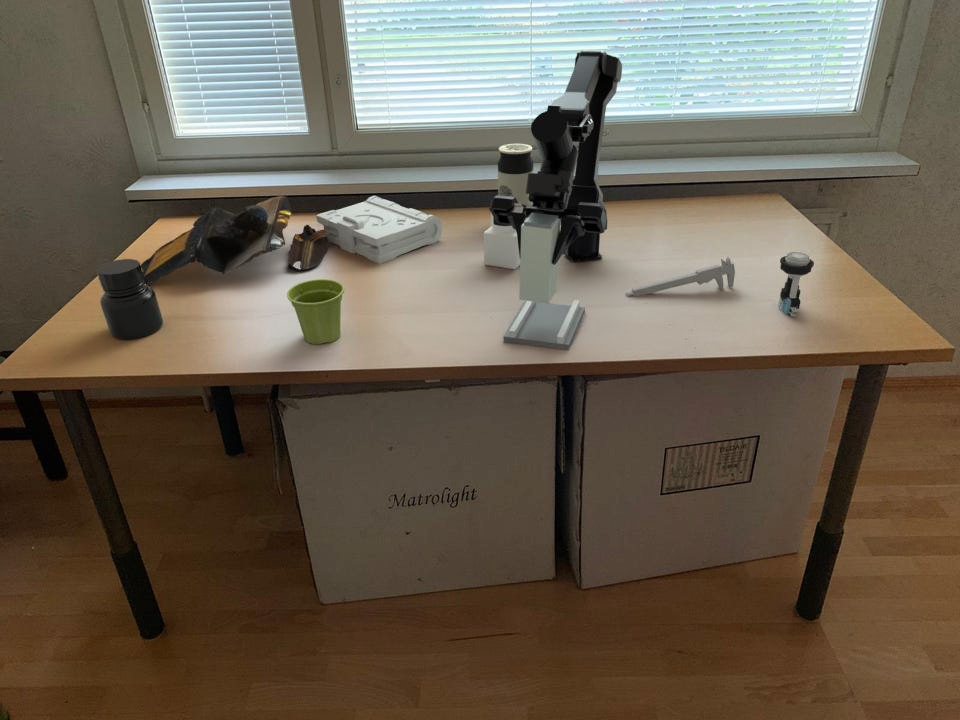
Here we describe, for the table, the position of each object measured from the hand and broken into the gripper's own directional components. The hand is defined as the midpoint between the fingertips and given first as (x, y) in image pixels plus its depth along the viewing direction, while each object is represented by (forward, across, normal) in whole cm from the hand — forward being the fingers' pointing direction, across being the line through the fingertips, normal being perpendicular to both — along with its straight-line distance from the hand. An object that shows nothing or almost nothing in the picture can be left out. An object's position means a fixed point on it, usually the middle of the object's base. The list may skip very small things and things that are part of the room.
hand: (537, 261), depth 116 cm
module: (+4, 0, +6) cm, 7 cm away
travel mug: (-25, -19, +43) cm, 53 cm away
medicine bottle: (-10, -14, +28) cm, 33 cm away
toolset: (0, -72, +19) cm, 74 cm away
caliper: (-6, +21, +25) cm, 33 cm away
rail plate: (+8, +1, +10) cm, 13 cm away
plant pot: (+18, -34, 0) cm, 39 cm away
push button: (-5, +40, +23) cm, 46 cm away
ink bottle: (+23, -68, -5) cm, 72 cm away
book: (-14, -48, +32) cm, 59 cm away
